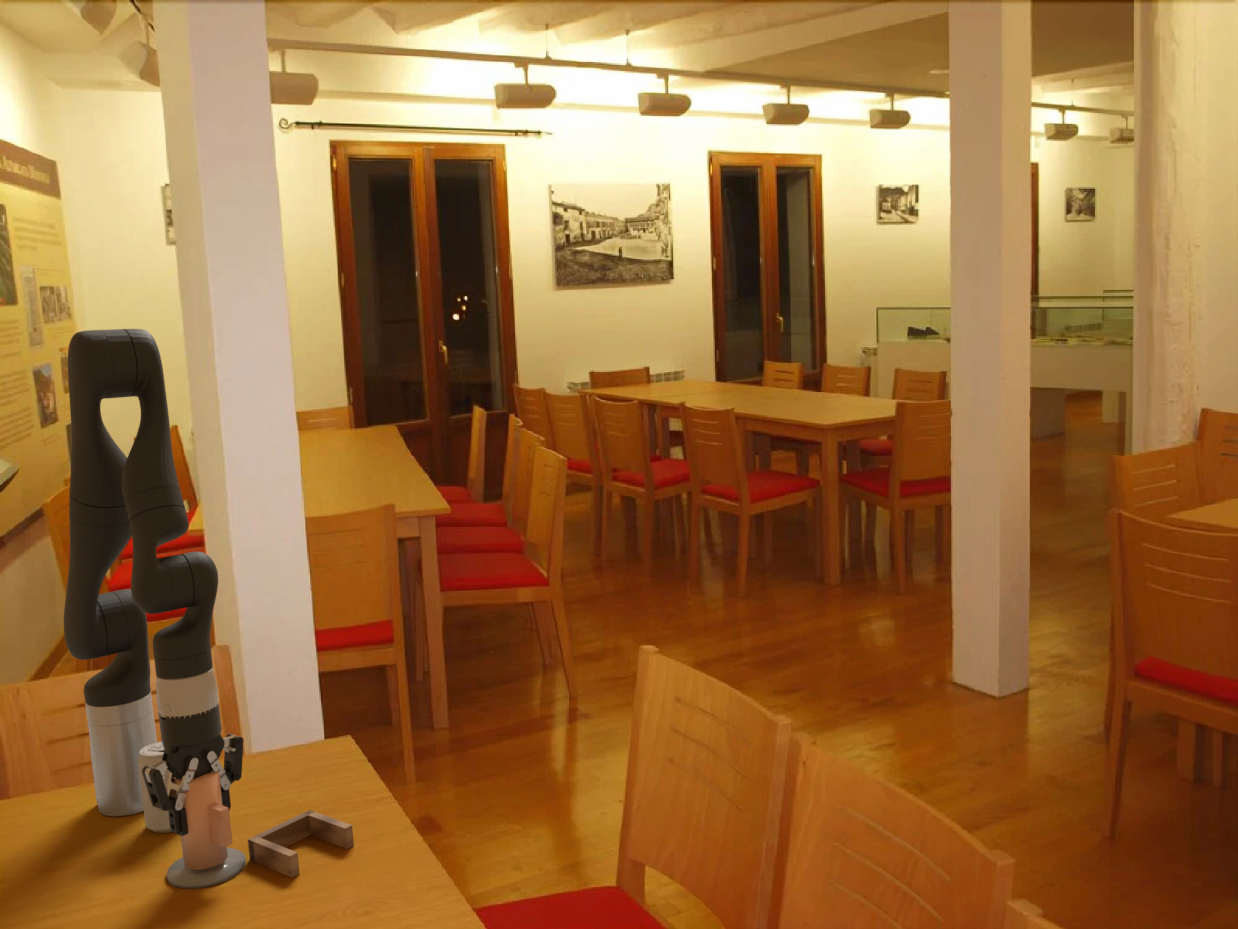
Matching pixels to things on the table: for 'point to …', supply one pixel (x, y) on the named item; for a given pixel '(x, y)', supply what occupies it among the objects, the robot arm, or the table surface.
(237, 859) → the grey dome disc
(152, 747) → the beverage can
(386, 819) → the table surface
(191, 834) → the peach cylinder with handle
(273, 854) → the wooden u-shaped frame
